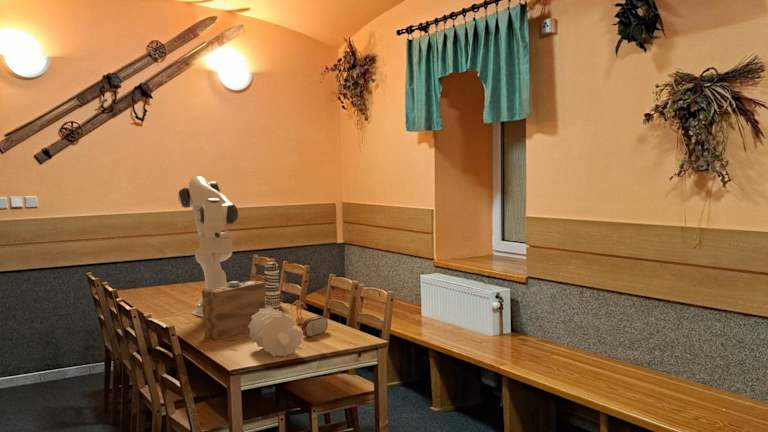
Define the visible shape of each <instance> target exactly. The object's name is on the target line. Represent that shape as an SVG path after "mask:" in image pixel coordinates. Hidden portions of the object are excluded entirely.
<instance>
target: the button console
mask: <svg viewBox="0 0 768 432" xmlns="http://www.w3.org/2000/svg"><path fill="white" fill-rule="evenodd" d="M248 282H255V283H254V284H250V285H249V284H245V283H248ZM264 283H265V281H256V280H248V281H247V280H246V281H244V282H239V287H235V288H230V287H229V284H228V285H226V286H223V287H218V288H213V289H208V290H205V289H202V291H201V293H202V294H201V295H202V297H201V298H203V317H202V318H203V330H204V333H203V334H204V338H208V339H214V340H222V339H226V338H229V337H230V338H231V337H233V336H236V335H239V334H244V333H247V332H250V328H248V326H249V324H250V322H251V321H252V317H251V316H253V315H254V314H256V313H258V312H259V309H267V307H266V298H265V297H266V296H265V295H266V287H265V284H264ZM214 289H223V290H221V291H212V290H214Z"/></svg>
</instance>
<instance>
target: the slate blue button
mask: <svg viewBox="0 0 768 432" xmlns="http://www.w3.org/2000/svg"><path fill="white" fill-rule="evenodd" d="M239 283H240V281H237V280H234V281H229V282H228V285H229V287H230V288H235V287H239Z"/></svg>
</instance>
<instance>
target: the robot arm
mask: <svg viewBox="0 0 768 432" xmlns="http://www.w3.org/2000/svg"><path fill="white" fill-rule="evenodd" d="M177 193H178V194H177V200H178V202H179V204H180V205H181V207H182V208H192V215H193V219H194V224H195V228H196V231H197V235H198V236H199V245H198V248H197V249H196V251H195V253H194V257H195V260H196V262H197V263H198V264H199V265H200V267H201V268H202V271H203V275H204V282H205V284H204V286H205V289H204V290H208V289H213V288H218V287H223V286H227V273H226V272H225V271H224V270H223V269H222V267H221V262H224V261H227V260H228V259H229V258H230V257H231V256H232V255H233V240H232V236H233V233H232V231H229V230H227V229H226V228H225V225H234V223H236V221H238V218H239V211H238V208H237V206H236V205H235V204H234V203H233V202H231V201H230V199H228V198H227V197H226V196H225V194H223V192H222V191H221V187H220V185H219V184H218V183H217V182H216V181H208V180H207V179H206V178H204V177H203V176H201V175H198V176H197V175H196V176H193V177H192V178H191V179H190V180H189V181H188V186H186V187H183V188H180V190H179V191H178V192H177ZM191 314H192V315H193V316H194V315H195V316H198V317H201V318H204V317H203V298H202V297H201V298H200V299H199V300H198V301H197V302H196V304H195V310H193V311H191Z"/></svg>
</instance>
